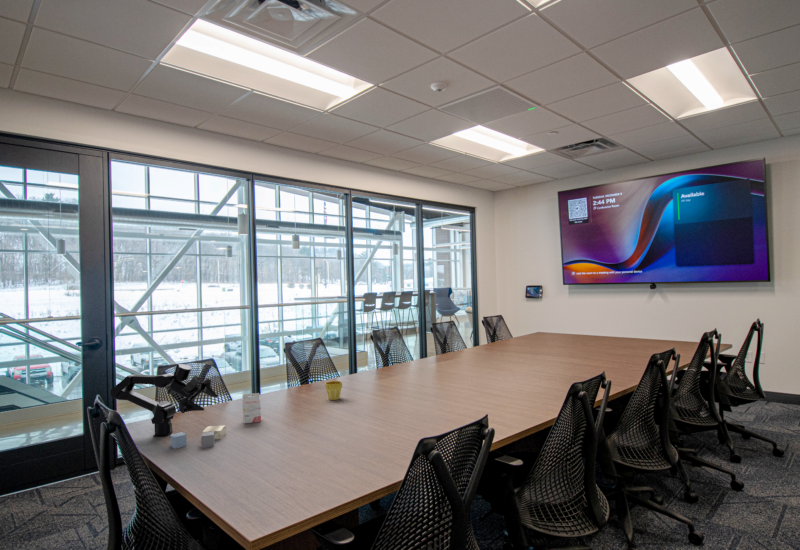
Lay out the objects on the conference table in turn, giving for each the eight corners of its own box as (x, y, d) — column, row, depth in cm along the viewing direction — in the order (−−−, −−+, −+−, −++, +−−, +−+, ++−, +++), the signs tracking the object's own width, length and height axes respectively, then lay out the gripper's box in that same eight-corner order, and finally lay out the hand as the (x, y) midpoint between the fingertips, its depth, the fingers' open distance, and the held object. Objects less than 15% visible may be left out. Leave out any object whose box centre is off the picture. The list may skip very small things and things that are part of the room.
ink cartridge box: (261, 419, 233) (260, 390, 233) (260, 421, 228) (260, 392, 228) (243, 420, 230) (243, 392, 231) (243, 423, 226) (242, 394, 226)
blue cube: (174, 449, 193) (174, 437, 193) (170, 446, 196) (170, 434, 196) (186, 445, 196) (186, 434, 196) (182, 443, 200) (182, 431, 200)
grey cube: (201, 448, 193) (201, 436, 193) (202, 444, 198) (202, 432, 198) (213, 446, 195) (213, 434, 195) (214, 442, 199) (214, 431, 200)
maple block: (202, 440, 203) (202, 431, 203) (208, 434, 211) (208, 426, 211) (220, 439, 204) (220, 430, 204) (225, 433, 212) (225, 425, 212)
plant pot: (323, 397, 272) (323, 381, 273) (339, 395, 277) (339, 379, 277) (328, 401, 263) (327, 385, 263) (344, 399, 267) (344, 383, 268)
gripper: (168, 389, 199) (197, 404, 196) (197, 365, 215) (225, 378, 212) (167, 406, 204) (196, 421, 202) (196, 381, 220) (223, 394, 218)
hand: (210, 403), depth 208 cm, fingers open, 9 cm apart
